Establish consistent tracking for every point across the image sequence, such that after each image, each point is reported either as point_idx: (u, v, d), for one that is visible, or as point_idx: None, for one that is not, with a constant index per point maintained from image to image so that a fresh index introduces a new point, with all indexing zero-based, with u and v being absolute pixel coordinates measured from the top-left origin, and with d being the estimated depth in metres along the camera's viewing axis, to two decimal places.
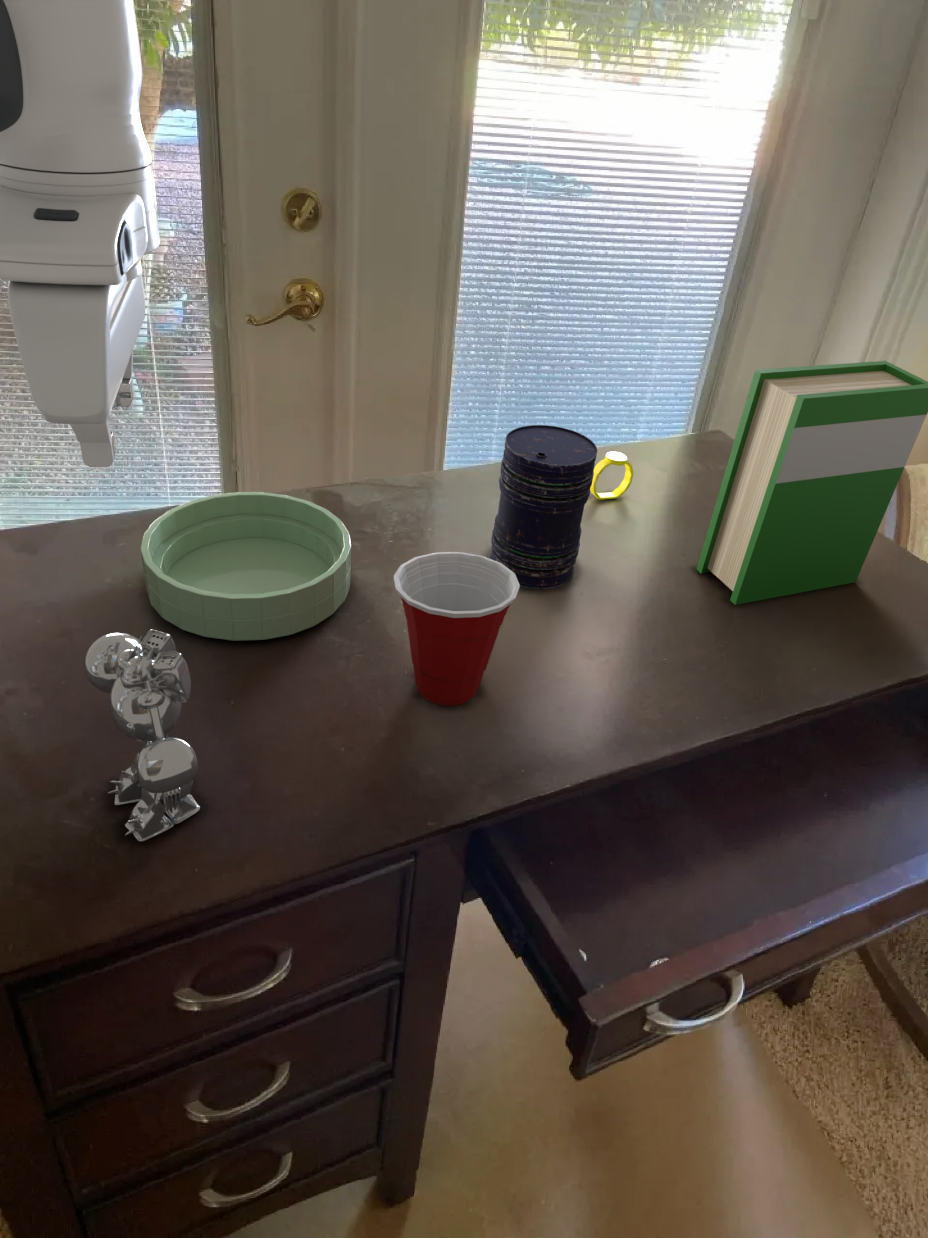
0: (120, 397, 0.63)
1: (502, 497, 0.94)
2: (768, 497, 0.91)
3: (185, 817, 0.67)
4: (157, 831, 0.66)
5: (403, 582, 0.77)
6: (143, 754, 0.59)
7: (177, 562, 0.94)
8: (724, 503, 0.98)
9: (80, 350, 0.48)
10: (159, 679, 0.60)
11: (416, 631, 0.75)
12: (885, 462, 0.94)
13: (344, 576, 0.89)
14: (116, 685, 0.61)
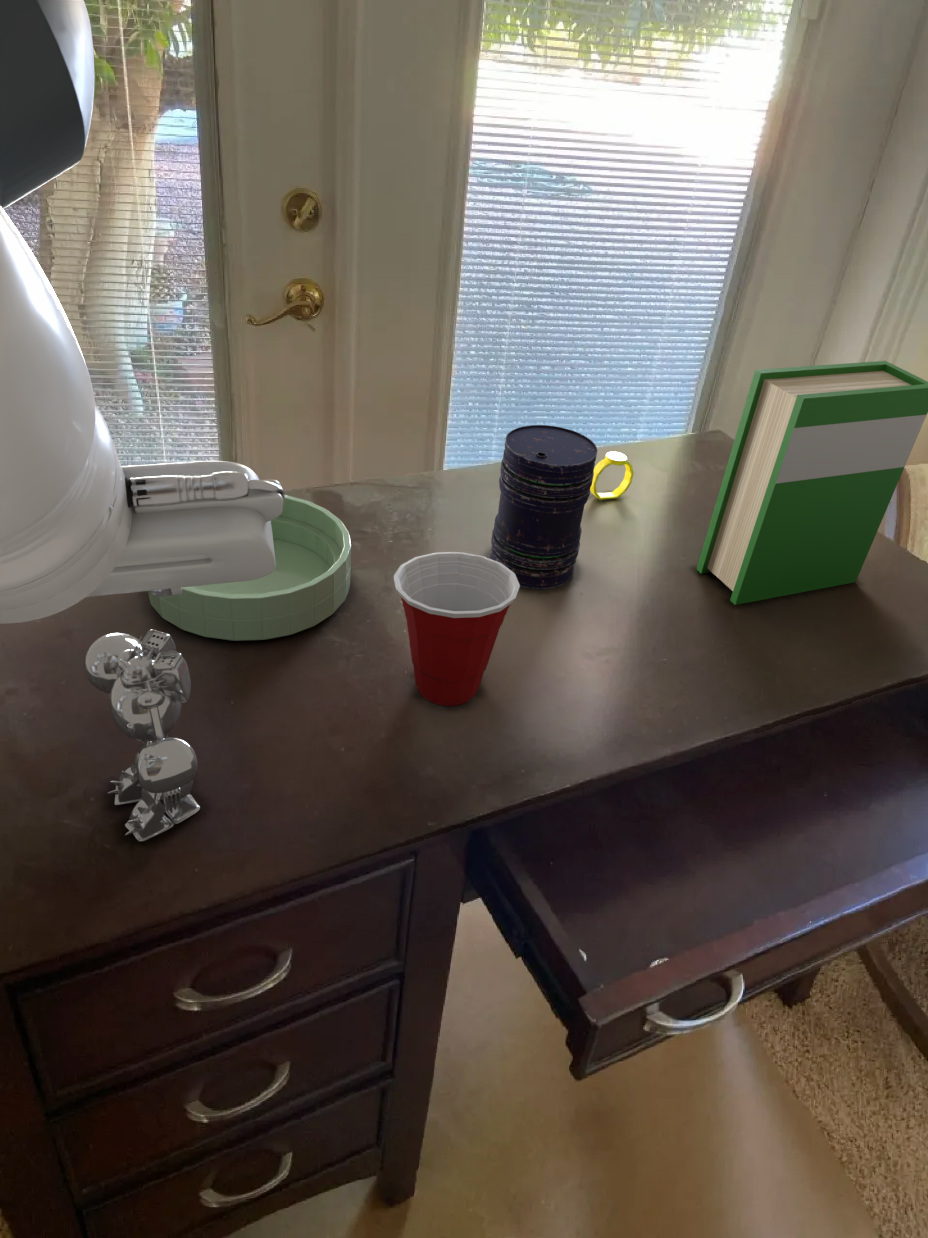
0: None
1: (502, 497, 0.94)
2: (768, 497, 0.91)
3: (185, 817, 0.67)
4: (157, 831, 0.66)
5: (404, 582, 0.77)
6: (143, 754, 0.59)
7: None
8: (724, 503, 0.98)
9: None
10: (159, 679, 0.60)
11: (416, 631, 0.75)
12: (886, 462, 0.94)
13: (344, 576, 0.89)
14: (116, 685, 0.61)
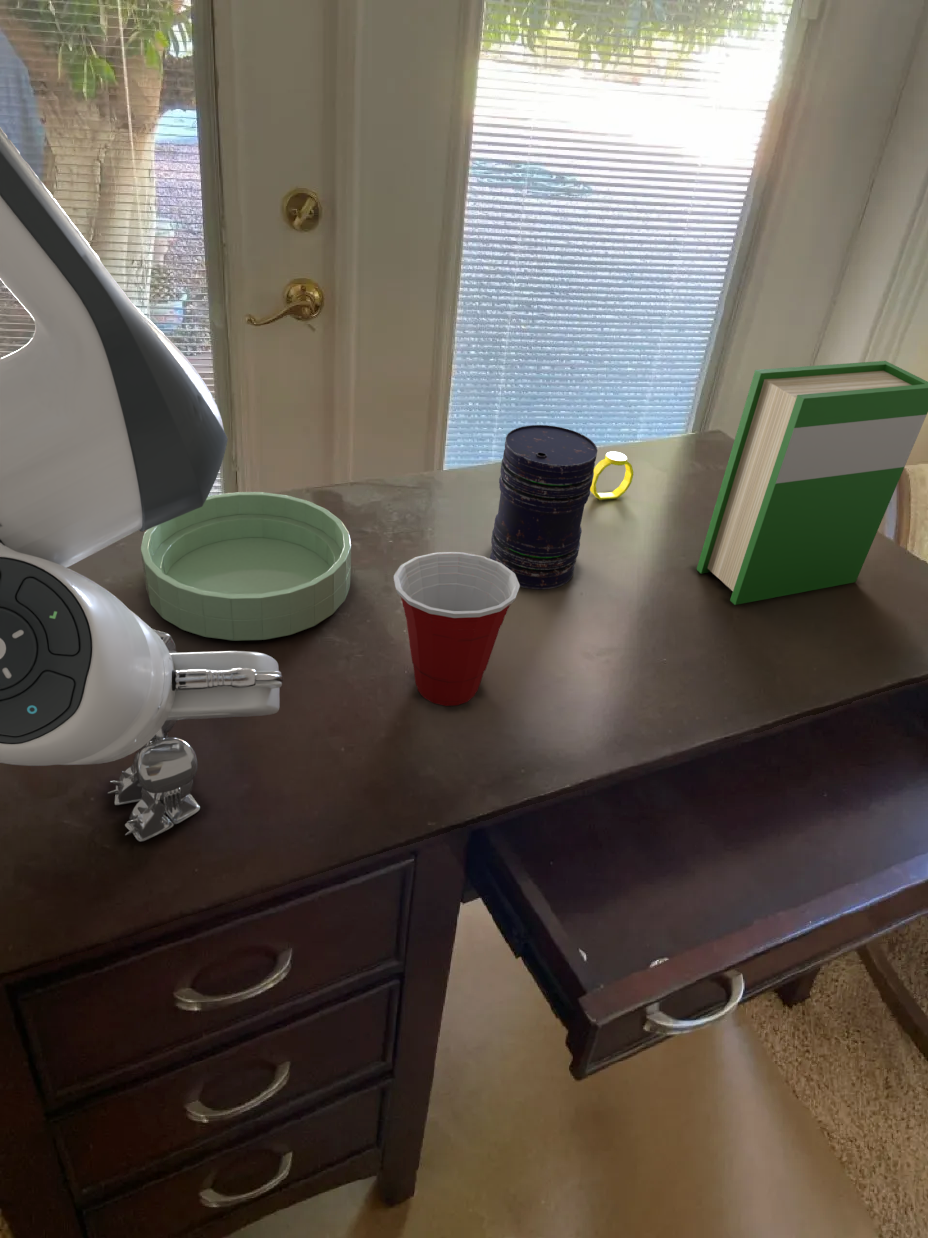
0: None
1: (502, 497, 0.94)
2: (768, 497, 0.91)
3: (185, 817, 0.67)
4: (157, 831, 0.66)
5: (404, 582, 0.77)
6: (143, 754, 0.59)
7: (177, 562, 0.94)
8: (724, 503, 0.98)
9: None
10: None
11: (416, 631, 0.75)
12: (886, 462, 0.94)
13: (344, 576, 0.89)
14: None
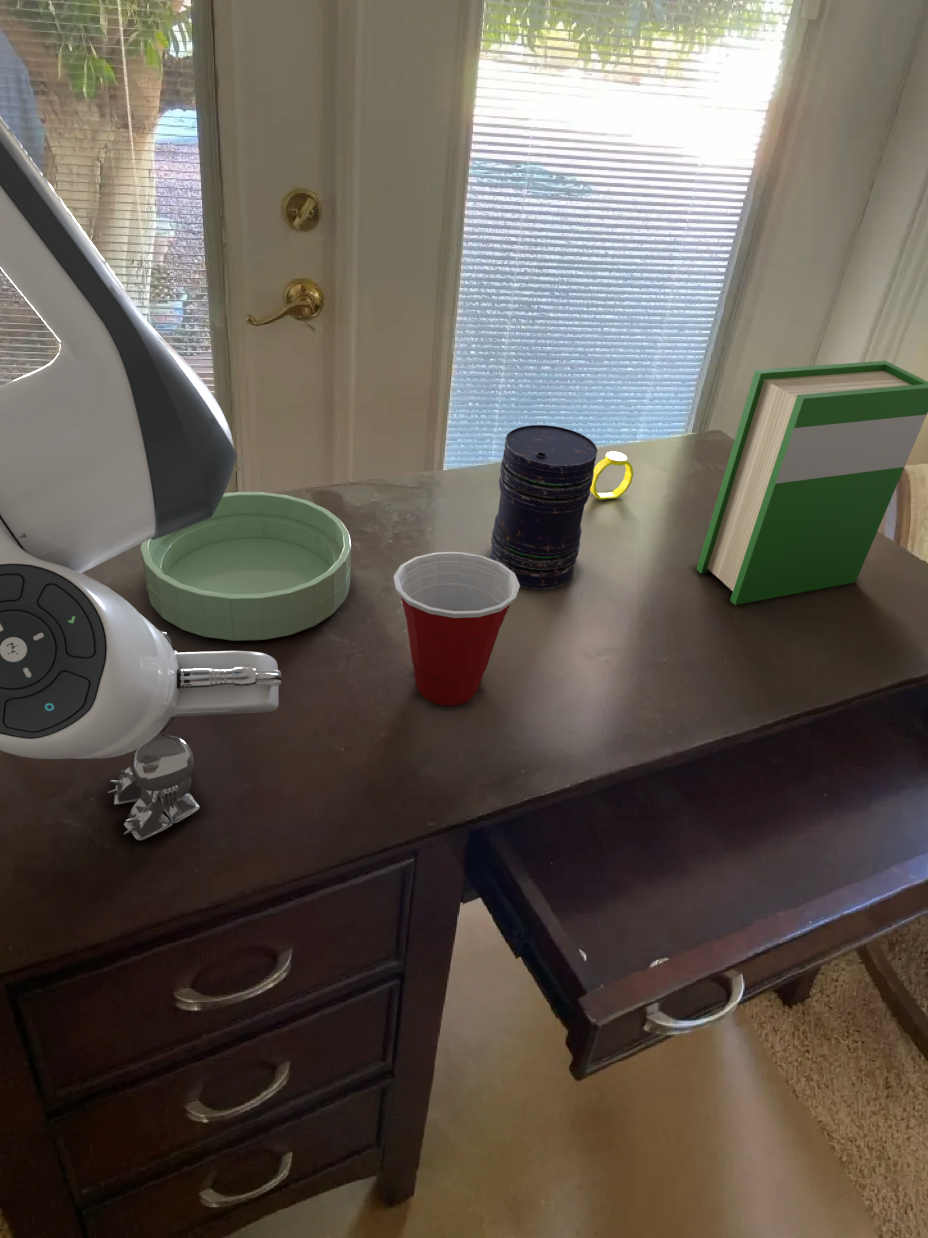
0: None
1: (502, 497, 0.94)
2: (768, 497, 0.91)
3: (184, 816, 0.67)
4: (156, 830, 0.65)
5: (404, 582, 0.77)
6: (139, 751, 0.59)
7: (177, 562, 0.94)
8: (724, 503, 0.98)
9: None
10: None
11: (416, 631, 0.75)
12: (886, 462, 0.94)
13: (344, 576, 0.89)
14: None
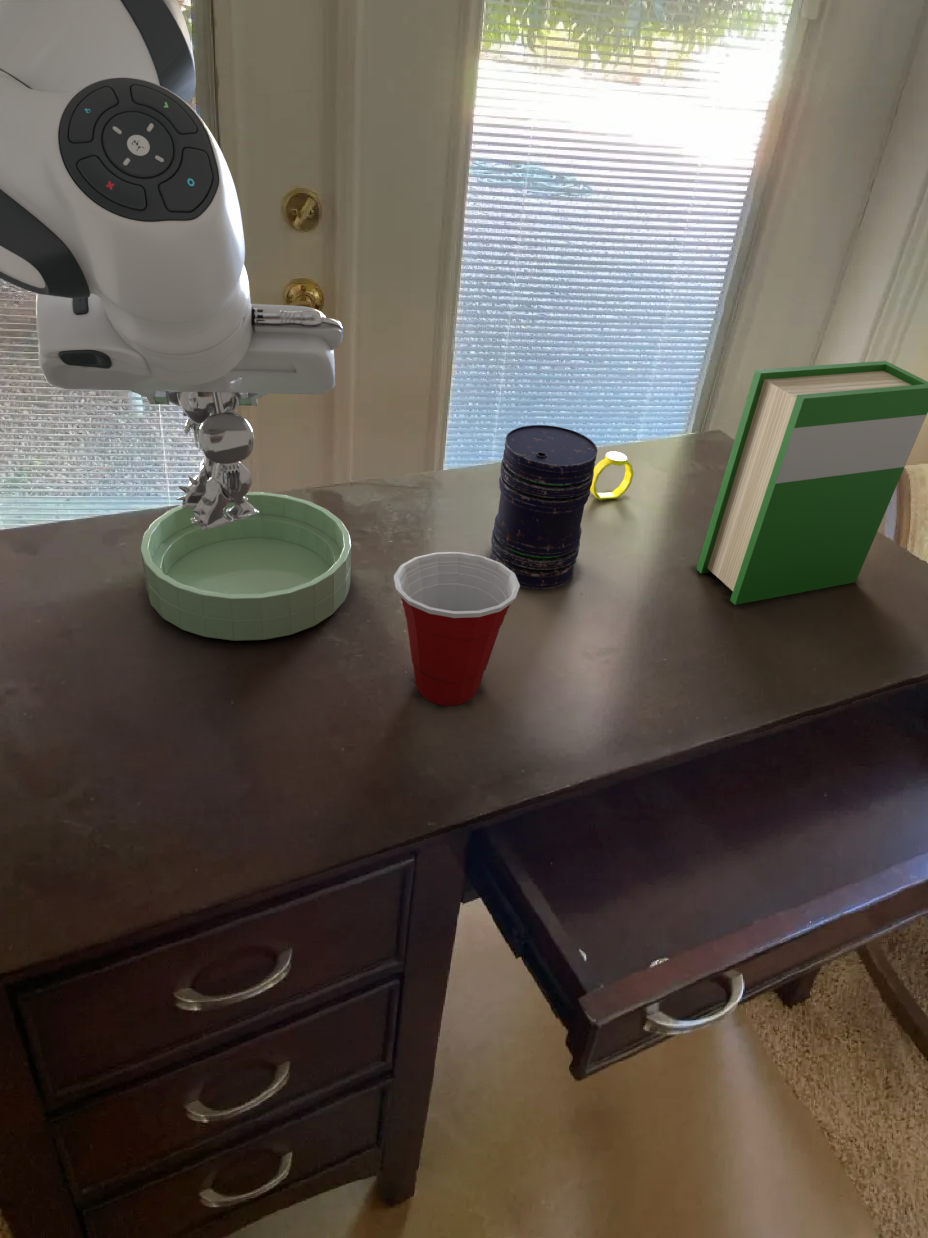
0: None
1: (502, 497, 0.94)
2: (768, 497, 0.91)
3: (245, 516, 0.73)
4: (219, 523, 0.71)
5: (404, 582, 0.77)
6: (205, 421, 0.65)
7: (177, 562, 0.94)
8: (724, 503, 0.98)
9: None
10: None
11: (416, 631, 0.75)
12: (886, 462, 0.94)
13: (344, 576, 0.89)
14: None
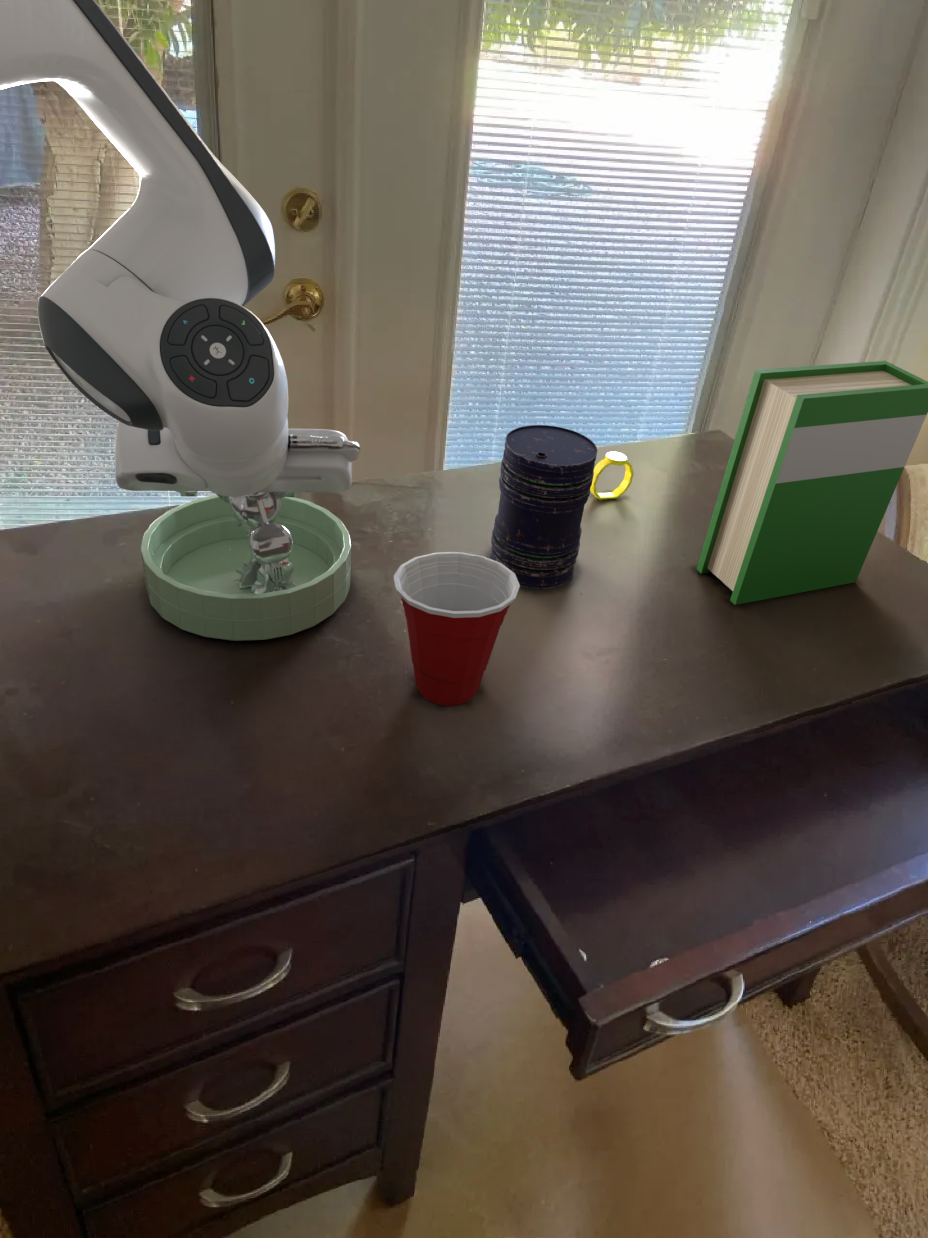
0: None
1: (502, 497, 0.94)
2: (768, 497, 0.91)
3: None
4: None
5: (404, 582, 0.77)
6: (253, 533, 0.82)
7: (177, 562, 0.94)
8: (724, 503, 0.98)
9: None
10: None
11: (416, 631, 0.75)
12: (886, 462, 0.94)
13: (344, 576, 0.89)
14: None
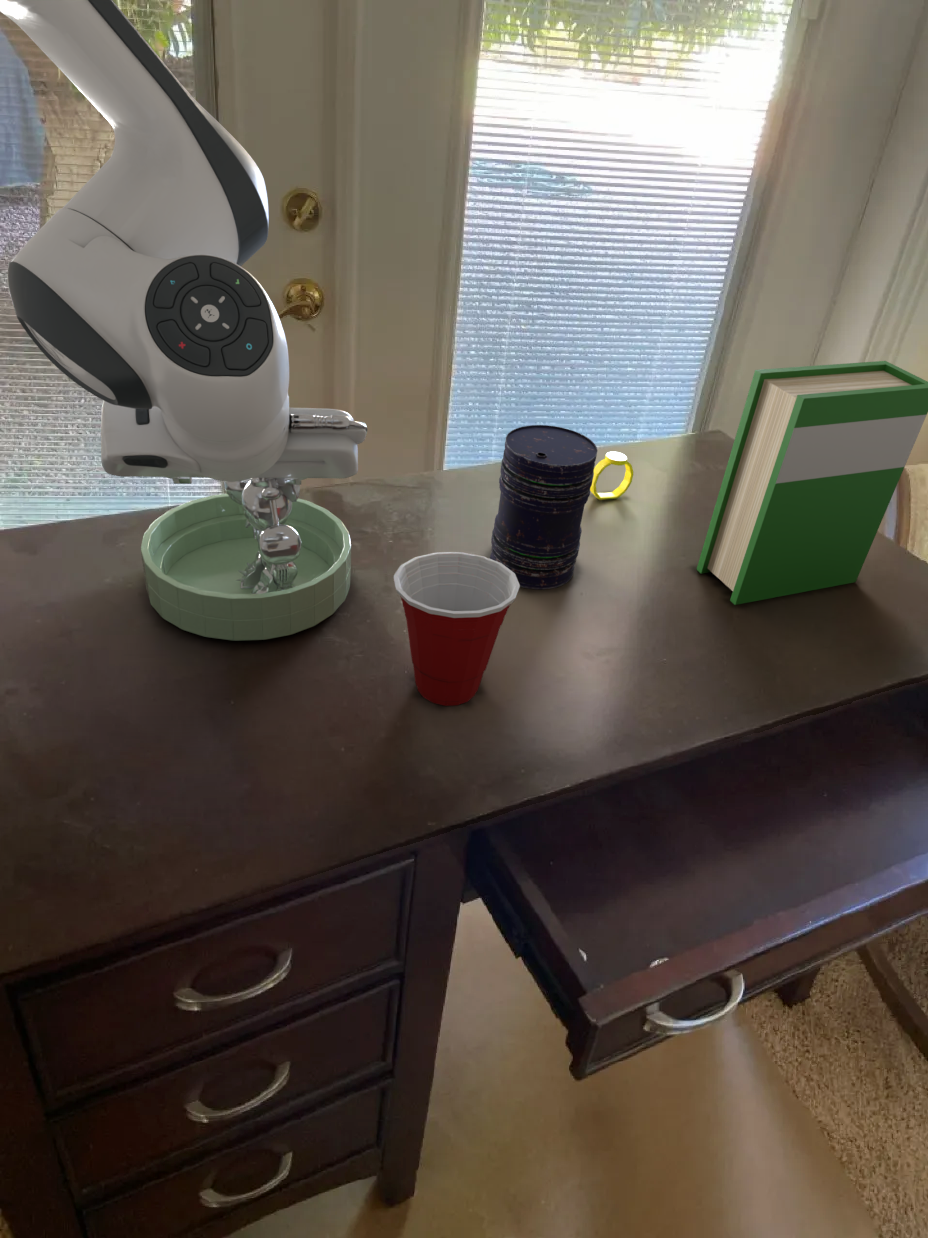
0: None
1: (502, 497, 0.94)
2: (768, 497, 0.91)
3: None
4: None
5: (404, 582, 0.77)
6: (263, 532, 0.82)
7: (177, 562, 0.94)
8: (724, 503, 0.98)
9: None
10: (277, 480, 0.82)
11: (416, 631, 0.75)
12: (886, 462, 0.94)
13: (344, 576, 0.89)
14: (247, 485, 0.84)
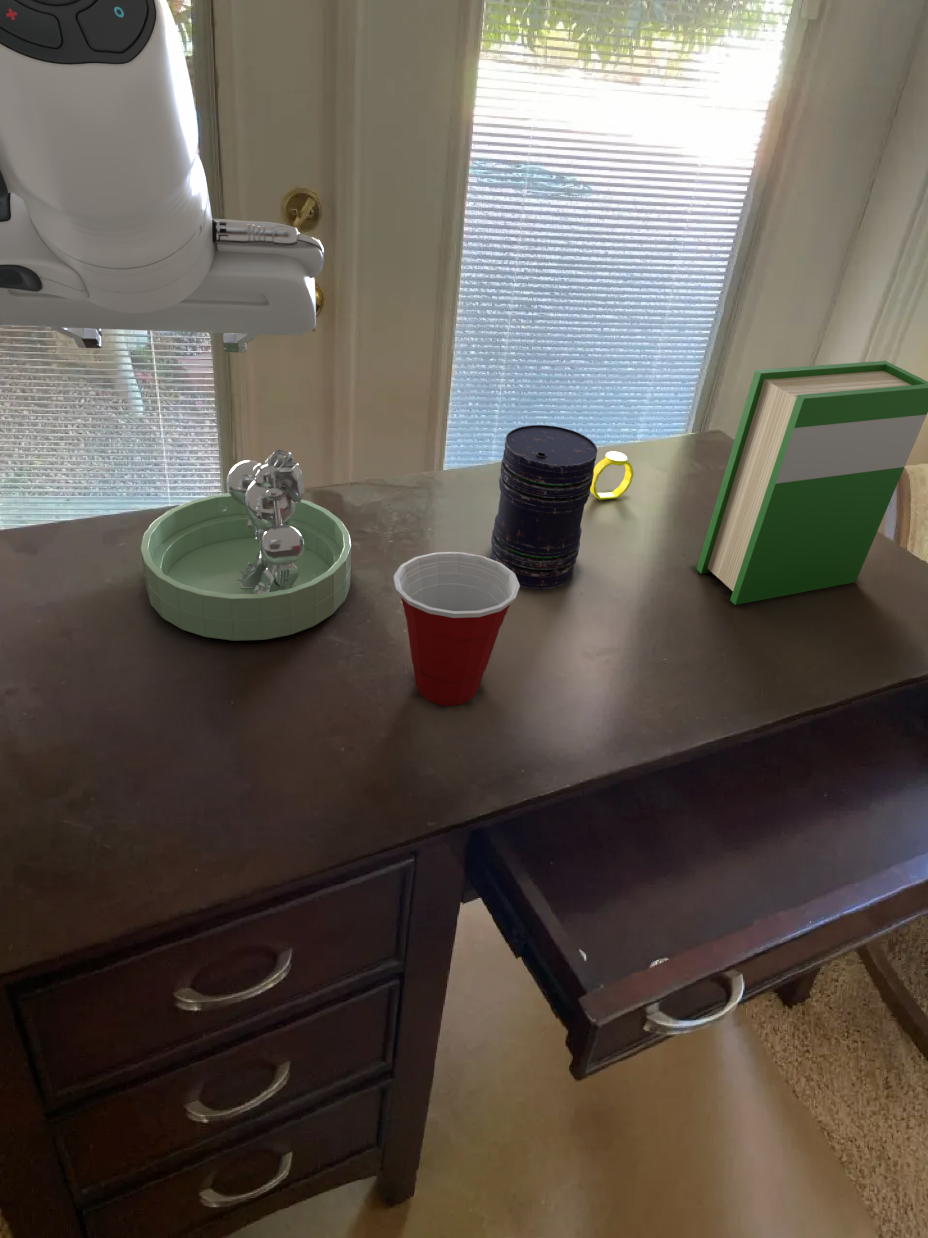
0: None
1: (502, 497, 0.94)
2: (768, 497, 0.91)
3: None
4: None
5: (404, 582, 0.77)
6: (266, 532, 0.82)
7: (177, 562, 0.94)
8: (724, 503, 0.98)
9: None
10: (282, 480, 0.83)
11: (416, 631, 0.75)
12: (886, 462, 0.94)
13: (344, 576, 0.89)
14: (251, 485, 0.84)
